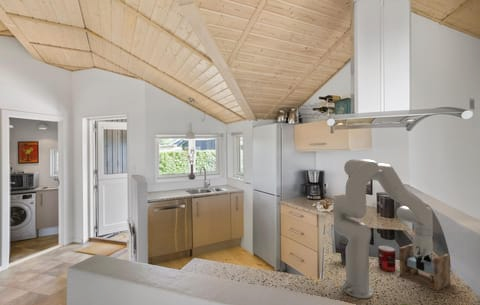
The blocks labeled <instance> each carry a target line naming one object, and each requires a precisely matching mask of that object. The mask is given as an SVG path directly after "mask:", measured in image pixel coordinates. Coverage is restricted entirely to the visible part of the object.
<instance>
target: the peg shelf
mask: <svg viewBox="0 0 480 305" xmlns="http://www.w3.org/2000/svg"><path fill="white" fill-rule="evenodd" d="M398 249H399V252H398V253H399V254H398V255H399V276H400V277H404V278H406V279H408V280H411V281H413V282H415V283H418V284H420V285H423V286H424V287H428V288H431V289H433V290H434V291H437V292H438V291H440V290H441V289H443V288H446V287H447V286H449V285H451V259H450V258H451V257H450V255H451V254H449V253H444V254H443V255H440V256H437V257H435V258H433V263H434V276H433V275H431V274H428V273H425V272H423V271H420V270H417V269H414V268H412V267H409V266H407V259H408V258H411V257H414V253H413V243H410V244H407V245H404V246H401V247H399V248H398Z"/></svg>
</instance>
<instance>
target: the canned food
mask: <svg viewBox="0 0 480 305" xmlns="http://www.w3.org/2000/svg"><path fill="white" fill-rule="evenodd" d="M377 248H378V249H377V254H378V256H377V257H378V267H379V269H381V270H382V271H387V272H395V271H396V249H395V248H394V247H392V246H390V245H379V246H378V247H377Z"/></svg>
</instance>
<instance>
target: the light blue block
mask: <svg viewBox="0 0 480 305" xmlns="http://www.w3.org/2000/svg"><path fill="white" fill-rule="evenodd" d="M423 262H424V270H423V271H422V270H420V269H417V268H416V259H415V257H411V258H408V259H407V266H409V267H412V268H414V269H417V270H419V271H422V272H425V273H427V274H430V275H433V276H434V262H432V261H431V262H428V261H425V260H423Z"/></svg>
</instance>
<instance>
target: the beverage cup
mask: <svg viewBox="0 0 480 305" xmlns="http://www.w3.org/2000/svg"><path fill="white" fill-rule="evenodd" d="M348 242H349V239H347V238H345V237H343V236H340V237H339V241H338V243H339V250H340V261H341V263H342V264H343V265H345V266H346V246H347V244H348Z"/></svg>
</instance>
